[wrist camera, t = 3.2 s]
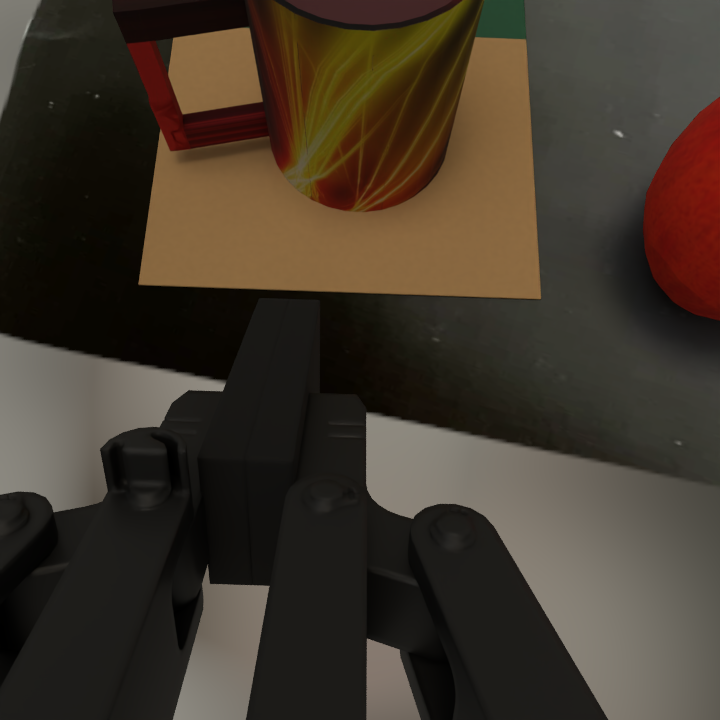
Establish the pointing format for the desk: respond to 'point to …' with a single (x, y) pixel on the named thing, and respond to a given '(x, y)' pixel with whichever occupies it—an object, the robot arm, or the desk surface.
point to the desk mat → (346, 228)
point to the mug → (324, 87)
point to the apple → (688, 217)
